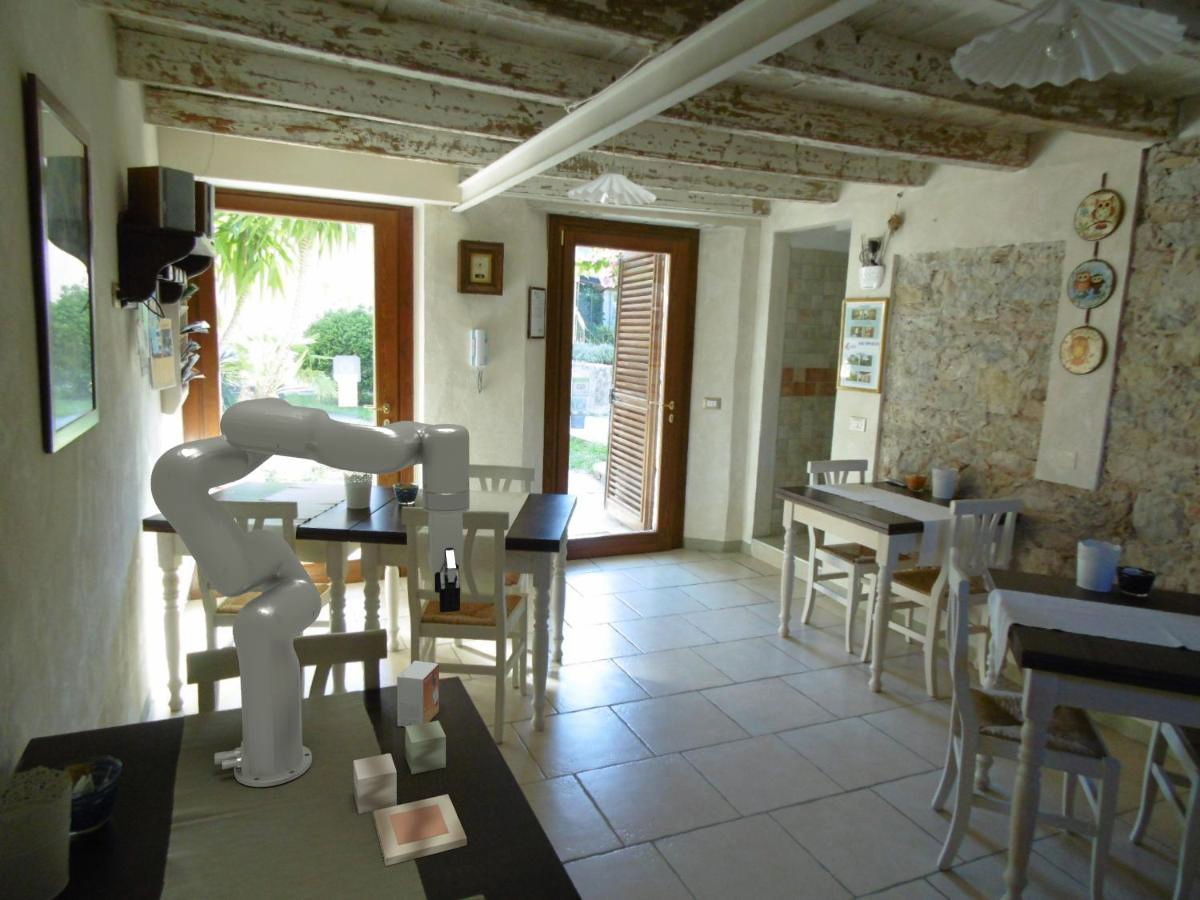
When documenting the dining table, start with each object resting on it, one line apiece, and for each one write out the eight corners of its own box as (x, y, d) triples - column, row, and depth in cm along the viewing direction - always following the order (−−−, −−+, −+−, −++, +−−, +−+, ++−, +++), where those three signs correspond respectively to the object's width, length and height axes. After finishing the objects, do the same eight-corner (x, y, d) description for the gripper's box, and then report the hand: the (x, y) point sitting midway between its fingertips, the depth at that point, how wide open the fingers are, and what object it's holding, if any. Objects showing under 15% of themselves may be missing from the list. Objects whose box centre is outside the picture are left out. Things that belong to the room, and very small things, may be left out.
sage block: (411, 774, 132) (411, 742, 131) (405, 757, 137) (405, 726, 136) (445, 767, 134) (445, 736, 133) (438, 750, 140) (438, 720, 139)
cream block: (358, 814, 120) (358, 779, 120) (354, 793, 126) (353, 760, 125) (396, 805, 123) (396, 771, 122) (390, 785, 128) (390, 753, 127)
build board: (385, 866, 109) (385, 857, 108) (373, 817, 119) (373, 810, 119) (466, 845, 114) (466, 837, 114) (447, 800, 124) (448, 793, 124)
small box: (423, 730, 146) (423, 679, 145) (396, 726, 148) (396, 676, 146) (439, 711, 154) (439, 662, 153) (414, 707, 155) (414, 659, 154)
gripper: (419, 490, 129) (420, 586, 132) (426, 513, 113) (427, 621, 115) (463, 489, 131) (463, 583, 134) (476, 511, 115) (476, 617, 117)
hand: (446, 601), depth 125 cm, fingers open, 9 cm apart
